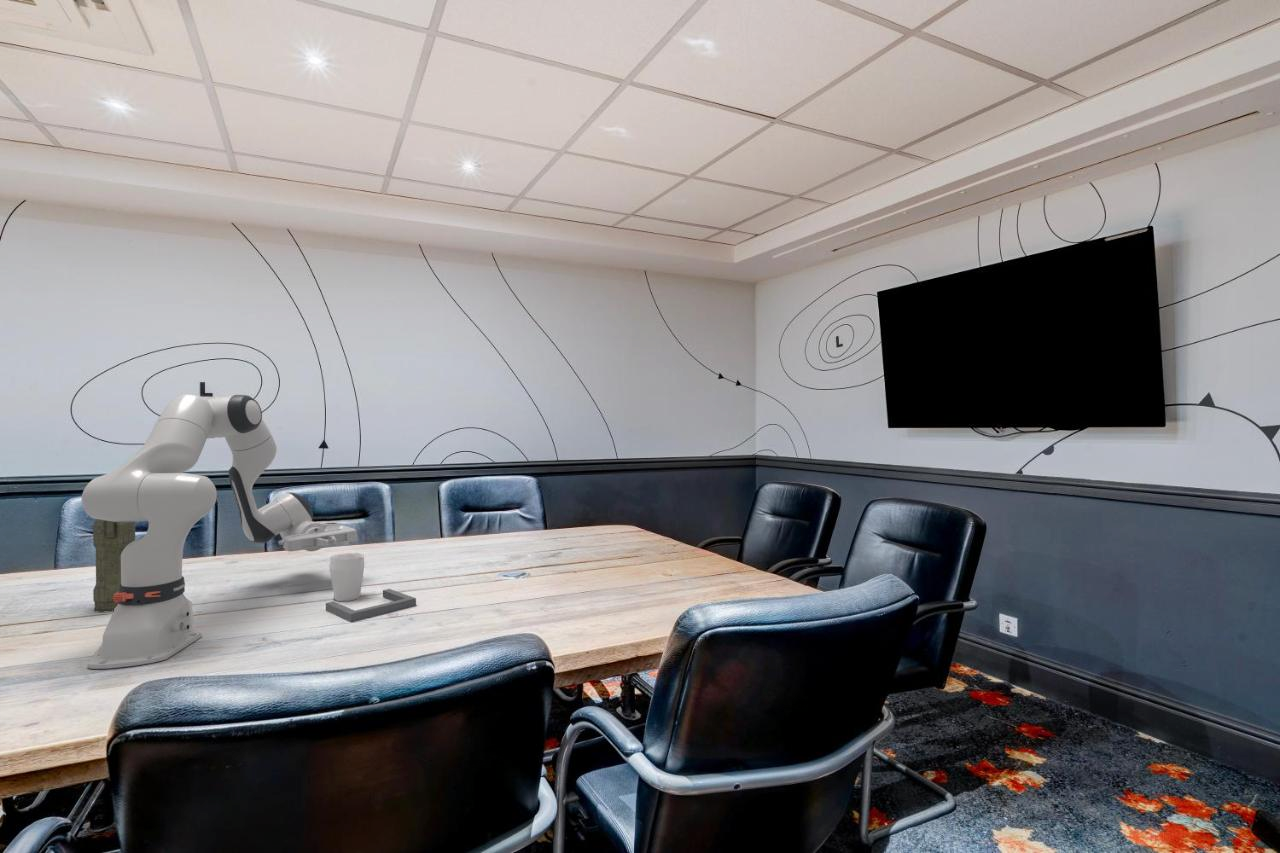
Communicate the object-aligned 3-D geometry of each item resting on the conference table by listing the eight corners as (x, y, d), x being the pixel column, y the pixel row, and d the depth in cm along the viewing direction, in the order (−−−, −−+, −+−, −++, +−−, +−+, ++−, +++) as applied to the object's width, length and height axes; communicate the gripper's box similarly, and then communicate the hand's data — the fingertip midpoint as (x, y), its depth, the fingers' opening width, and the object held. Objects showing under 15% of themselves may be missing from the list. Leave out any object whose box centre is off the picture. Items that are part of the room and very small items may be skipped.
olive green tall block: (91, 615, 161) (90, 481, 161) (95, 604, 171) (94, 478, 170) (135, 609, 167) (134, 479, 166) (136, 599, 176) (135, 476, 175)
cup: (355, 602, 173) (355, 560, 173) (323, 602, 173) (323, 559, 173) (370, 593, 182) (369, 553, 182) (339, 593, 182) (339, 552, 182)
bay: (325, 610, 166) (325, 602, 166) (389, 595, 180) (389, 588, 180) (350, 622, 157) (350, 614, 157) (416, 605, 171) (416, 598, 171)
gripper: (275, 531, 185) (294, 537, 176) (344, 521, 201) (364, 527, 192) (275, 552, 185) (294, 559, 176) (344, 541, 201) (364, 547, 192)
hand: (331, 542), depth 184 cm, fingers closed
